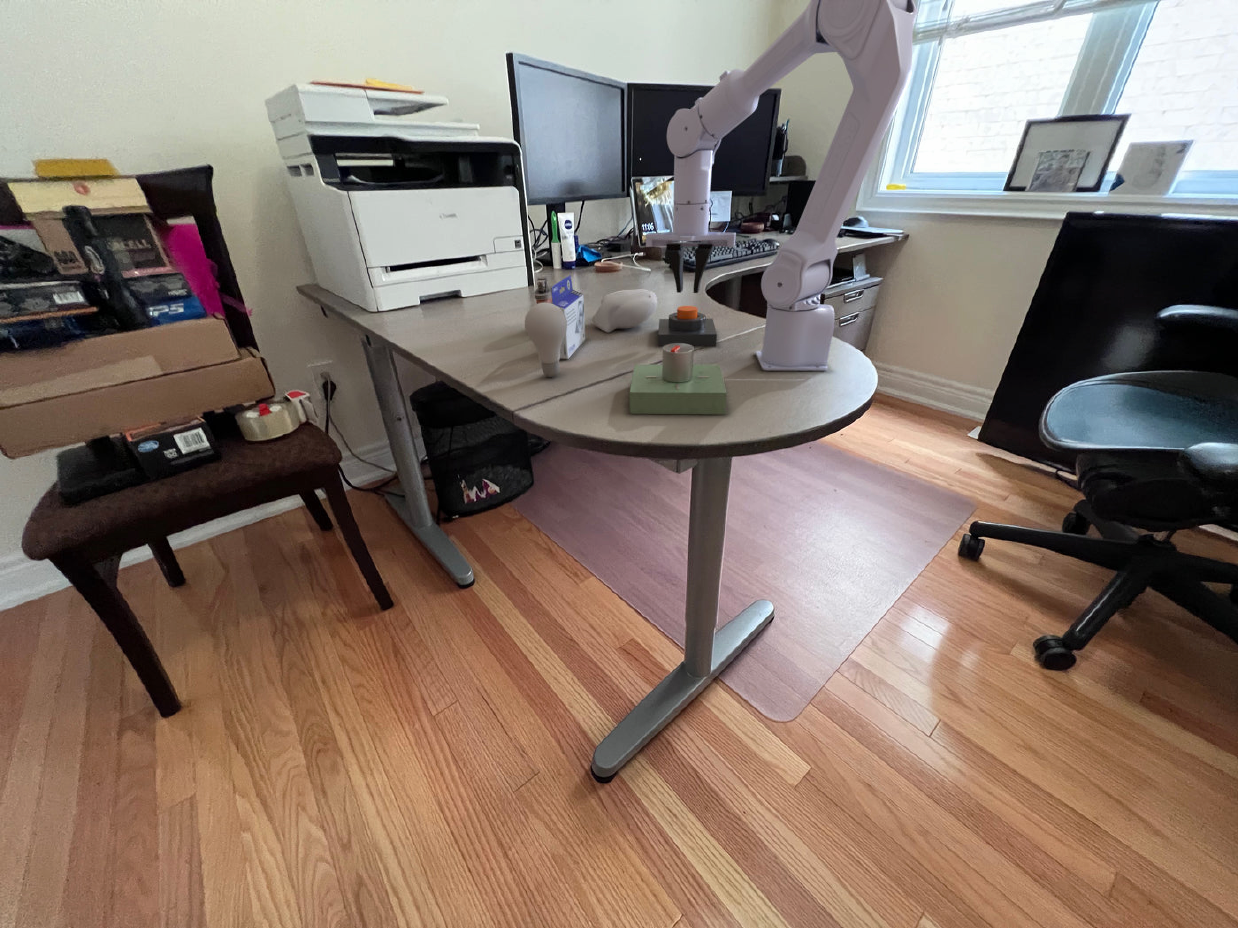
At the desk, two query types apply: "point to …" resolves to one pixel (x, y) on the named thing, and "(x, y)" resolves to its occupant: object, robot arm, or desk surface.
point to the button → (687, 312)
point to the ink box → (570, 315)
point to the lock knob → (677, 362)
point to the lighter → (543, 290)
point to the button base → (687, 331)
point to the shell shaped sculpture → (625, 309)
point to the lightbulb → (547, 334)
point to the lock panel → (677, 392)
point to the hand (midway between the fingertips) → (688, 291)
